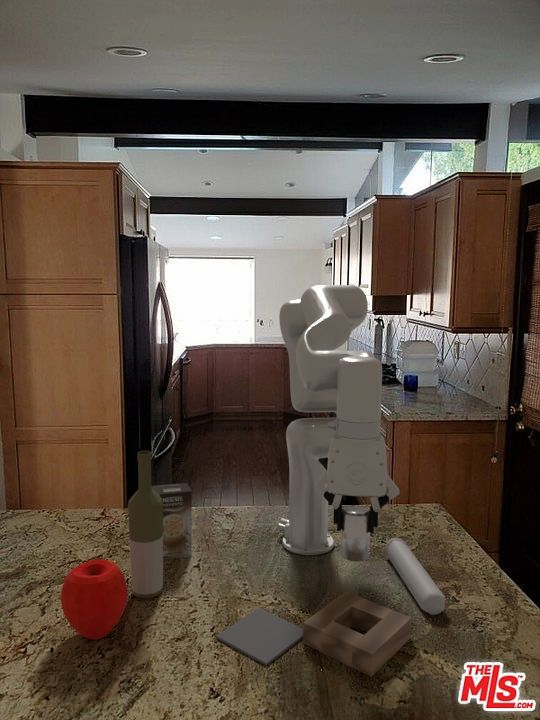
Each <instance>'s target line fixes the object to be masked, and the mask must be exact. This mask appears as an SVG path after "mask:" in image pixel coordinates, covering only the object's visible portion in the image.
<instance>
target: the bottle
mask: <svg viewBox="0 0 540 720" xmlns="http://www.w3.org/2000/svg"><path fill="white" fill-rule="evenodd" d="M137 470H138V471H137V473H138V476H137V477H138V480H137V481H138V486H137V488H138V489H137V490H136V491H135V492H134V493H133V495H131V498H130V499H129V500H128V503H127V513H128V534H129V535H128V536H129V556H130V557H129V558H130V559H129V560H130V577H131V578H130V579H131V581H130V582H131V591H132V594H133V596H135V597H136V598H139V599H152V598H154V597H157V596H159V595H160V594H161V592H162V591H163V587H164V560H163V501H162V499H161V497H160V496H159V495H158V494H157V493H156V492H155V491H154V490H153V489H152V486H153V485H152V482H153V481H152V452H151V451H150V450H140V451H138V452H137Z"/></svg>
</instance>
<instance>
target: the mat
mask: <svg viewBox="0 0 540 720" xmlns="http://www.w3.org/2000/svg"><path fill="white" fill-rule="evenodd" d="M301 638H302V639H303V627H300V626H298V625H296V624H294V623H292V622H290V621H288V620H286V619H285V618H281V617H280V616H277V615H275V614H273V613H270V612H269V611H267V610H264V609H262V608H260V607H258V608H256V609H255V610H253V611H252V612H250V613H249V614H247V615H245V616H244V617H243V618H241V619H240V620H238V621H237V622H235V623H233V624H232V625H230V626H229V627H227V628H225V629H224V630H222V631H221V632H219V633H218V634H216V635H215V639H216V640H218V641H220V642H222V643H223V644H226V645H228V646H230V647H231V648H233V649H235V650H236V651H238V652H240V653H242V654H244V655H246V656H247V657H249V658H251V659H253V660H255V661H256V662H258V663H261V664H262V665H264V666H266V667H267V666H268V665H270V664H271V663H272V662H274V661H275V660H276V659H278V657H280V656H282V654H284V653H285V652H286V651H287V650H289V649H290V648H291V646H292V647H293V646H294V645H296V644H297V643H298V642H299V641H301V640H302V639H301ZM295 643H296V644H295Z"/></svg>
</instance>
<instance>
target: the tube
mask: <svg viewBox="0 0 540 720" xmlns="http://www.w3.org/2000/svg"><path fill="white" fill-rule="evenodd" d="M384 549H385V550H384V555H385V556H386V557H387V558H388V559H389V560H390V562H391V564H392V565H393V567H394V568H395V570H396V571H397V573H398V574H399V576H400V578H401V579H402V581H403V583H404V584H405V586H406V587H407V589H408V591H410V593H411V594H412V596H413V597H414V600H415V601H416V602H417V604H418V606H419V607H420V609H421V610H423V611H424V612H425V613H427V614H428V613H429V615H431V616H435V615H439V614H441V612H443V611H444V610H445V607H446V606H445V605H446V596H445V595H444V593H443V592H442V591H441V589H440V588H439V587H438V586H437V584H436V583H435V581H434V579H432V577H431V576H430V574H429V573H428V572H427V570H426V569H425V568H424V566H423V565H422V564H421V562H420V561H419V560H418V559H417V557H416V556H415V554H414V553H413V552H412V550H411V549H410V548H409V546H408V543H407V542H406V541H404V540H403V539H401V538H390V539H389V540H388V542H387V543H386V544H385V546H384Z"/></svg>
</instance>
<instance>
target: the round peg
mask: <svg viewBox="0 0 540 720" xmlns="http://www.w3.org/2000/svg"><path fill="white" fill-rule="evenodd" d="M369 527H370V509H367V508H366V507H362V506H359V505H358V506H356V505H355V506H353V505H352V506H345V507H342V521H341V530H340V556H341V558H343V559H345V561H350V562H357V563H359V562H364V561H366V560H368V559H369V558H370V539H371V538H370V536H371V535H370V534H371V533H369Z"/></svg>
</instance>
